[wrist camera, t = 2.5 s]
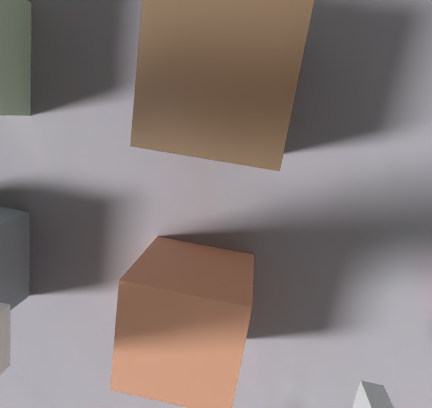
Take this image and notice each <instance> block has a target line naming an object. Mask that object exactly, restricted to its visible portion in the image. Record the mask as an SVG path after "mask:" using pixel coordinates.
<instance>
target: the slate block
mask: <svg viewBox="0 0 432 408" xmlns="http://www.w3.org/2000/svg"><path fill="white" fill-rule="evenodd" d="M28 296H30V212H27V211H22V210H16V209H11V208H6V207H0V302H1V303H6V304H10V310H11V309H13V308H14V307H15V306H17V305H18V304H19V303H20V302H22V301H23V300H24V299H26V298H27V297H28Z"/></svg>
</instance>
